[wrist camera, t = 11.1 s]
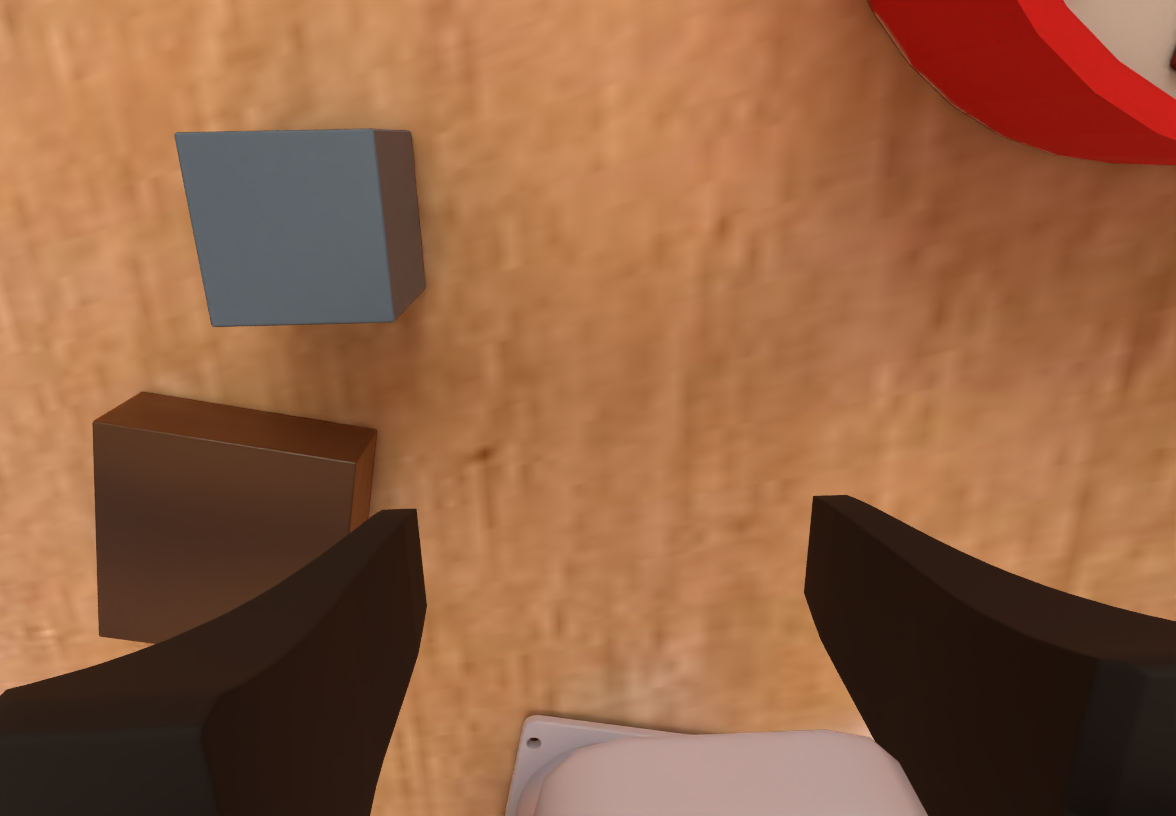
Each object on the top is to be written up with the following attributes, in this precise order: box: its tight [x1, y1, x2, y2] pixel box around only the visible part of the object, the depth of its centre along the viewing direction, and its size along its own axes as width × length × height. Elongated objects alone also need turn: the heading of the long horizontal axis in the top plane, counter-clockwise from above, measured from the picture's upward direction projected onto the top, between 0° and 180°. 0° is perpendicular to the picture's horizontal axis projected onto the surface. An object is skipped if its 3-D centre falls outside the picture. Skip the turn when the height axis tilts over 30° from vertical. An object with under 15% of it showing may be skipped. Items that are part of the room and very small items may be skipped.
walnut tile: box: [93, 392, 377, 644], centre depth 23 cm, size 7×7×3 cm
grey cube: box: [175, 129, 425, 327], centre depth 19 cm, size 4×4×4 cm
